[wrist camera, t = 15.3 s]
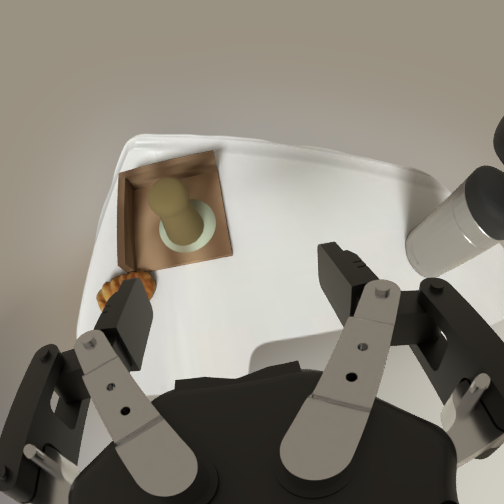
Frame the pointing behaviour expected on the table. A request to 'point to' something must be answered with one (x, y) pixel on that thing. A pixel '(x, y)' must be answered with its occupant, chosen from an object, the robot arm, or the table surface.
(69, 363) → the robot arm
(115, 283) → the pastry
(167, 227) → the cork
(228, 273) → the table surface
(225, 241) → the corner tray
